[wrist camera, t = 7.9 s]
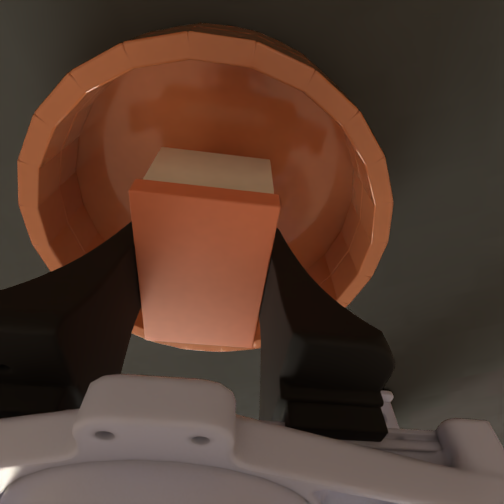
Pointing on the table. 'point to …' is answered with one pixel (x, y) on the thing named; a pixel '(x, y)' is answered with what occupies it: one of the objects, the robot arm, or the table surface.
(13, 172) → the table surface
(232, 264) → the orange rectangular prism
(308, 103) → the pot
